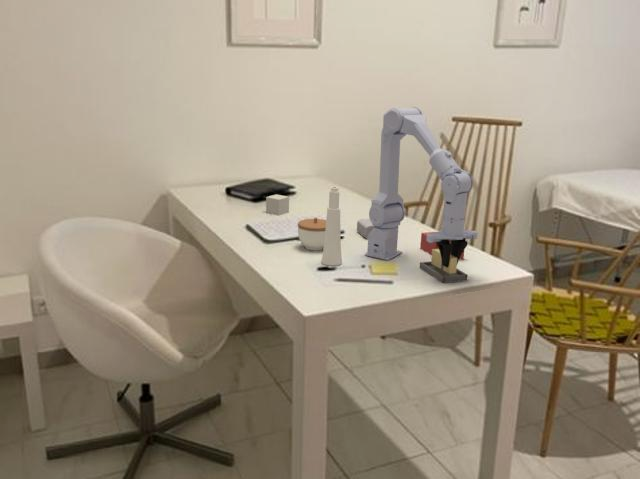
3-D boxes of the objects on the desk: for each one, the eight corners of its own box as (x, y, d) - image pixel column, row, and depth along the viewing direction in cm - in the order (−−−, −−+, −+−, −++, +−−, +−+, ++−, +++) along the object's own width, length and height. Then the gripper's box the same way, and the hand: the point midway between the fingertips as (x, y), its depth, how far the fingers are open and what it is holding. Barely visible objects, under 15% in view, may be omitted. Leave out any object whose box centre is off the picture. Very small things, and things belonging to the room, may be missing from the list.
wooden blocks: (456, 272, 177) (457, 257, 176) (449, 273, 176) (450, 258, 175) (437, 263, 186) (438, 248, 185) (431, 263, 185) (431, 249, 184)
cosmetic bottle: (346, 262, 188) (349, 187, 182) (332, 267, 184) (335, 190, 178) (330, 257, 192) (333, 184, 186) (316, 262, 188) (319, 187, 181)
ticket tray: (467, 280, 177) (467, 274, 176) (442, 283, 174) (443, 277, 174) (442, 265, 189) (443, 260, 188) (419, 267, 186) (419, 262, 186)
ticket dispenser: (465, 258, 195) (466, 242, 194) (441, 261, 192) (443, 244, 191) (442, 246, 207) (444, 230, 205) (420, 248, 204) (421, 232, 202)
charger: (375, 226, 228) (392, 238, 214) (350, 228, 225) (365, 240, 211) (376, 213, 226) (393, 224, 213) (351, 214, 224) (366, 226, 210)
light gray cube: (288, 212, 242) (289, 196, 241) (278, 215, 238) (279, 199, 236) (276, 209, 246) (276, 194, 244) (265, 212, 241) (266, 196, 239)
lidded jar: (338, 246, 203) (339, 217, 201) (320, 255, 195) (322, 224, 192) (308, 240, 209) (309, 211, 206) (290, 248, 200) (291, 218, 197)
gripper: (437, 222, 168) (433, 272, 172) (485, 219, 173) (480, 268, 177) (424, 216, 174) (420, 264, 178) (471, 212, 179) (466, 260, 183)
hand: (449, 265), depth 178 cm, fingers closed on wooden blocks, 2 cm apart
